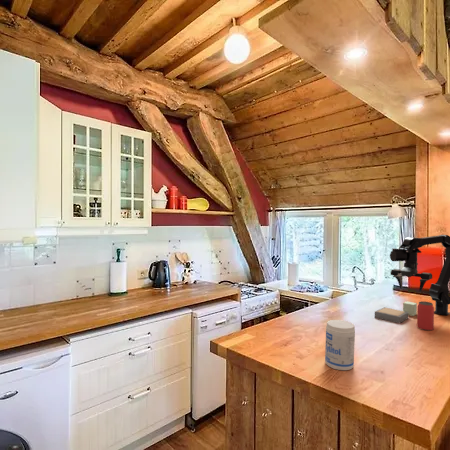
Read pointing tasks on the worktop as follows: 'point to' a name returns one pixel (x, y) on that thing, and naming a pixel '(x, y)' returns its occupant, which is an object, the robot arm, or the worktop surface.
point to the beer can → (425, 316)
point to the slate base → (391, 315)
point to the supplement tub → (340, 344)
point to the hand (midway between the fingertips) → (410, 290)
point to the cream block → (410, 308)
